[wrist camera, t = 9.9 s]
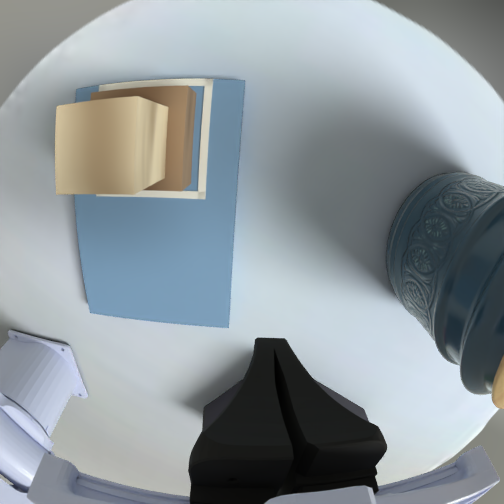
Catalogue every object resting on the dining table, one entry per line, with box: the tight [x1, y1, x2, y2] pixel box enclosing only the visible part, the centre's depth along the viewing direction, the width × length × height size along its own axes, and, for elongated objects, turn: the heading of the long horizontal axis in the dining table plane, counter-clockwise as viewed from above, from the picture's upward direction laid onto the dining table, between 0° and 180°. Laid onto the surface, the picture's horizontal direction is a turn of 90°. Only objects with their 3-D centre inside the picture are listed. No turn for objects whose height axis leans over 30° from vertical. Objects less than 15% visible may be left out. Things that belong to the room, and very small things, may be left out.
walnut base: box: [90, 85, 197, 191], centre depth 16 cm, size 6×6×3 cm
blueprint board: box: [74, 79, 245, 328], centre depth 20 cm, size 12×18×1 cm, turn 176°
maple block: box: [55, 96, 168, 195], centre depth 13 cm, size 4×4×5 cm
